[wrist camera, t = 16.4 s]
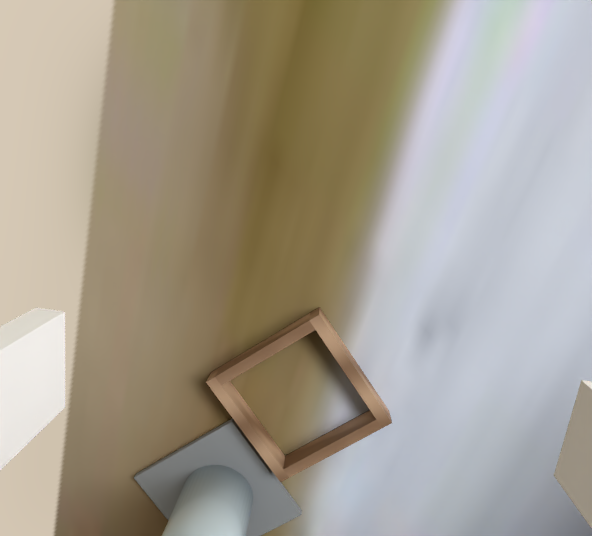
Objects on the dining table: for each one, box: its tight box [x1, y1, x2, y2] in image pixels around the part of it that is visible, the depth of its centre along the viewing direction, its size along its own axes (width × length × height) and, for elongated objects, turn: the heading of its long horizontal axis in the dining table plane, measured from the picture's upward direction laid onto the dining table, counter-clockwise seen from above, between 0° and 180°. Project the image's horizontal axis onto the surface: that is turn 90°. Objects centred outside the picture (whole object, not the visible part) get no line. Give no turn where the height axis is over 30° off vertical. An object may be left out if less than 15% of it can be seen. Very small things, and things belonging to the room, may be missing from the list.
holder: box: [206, 307, 392, 482], centre depth 43 cm, size 12×12×2 cm
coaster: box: [134, 418, 302, 536], centre depth 46 cm, size 12×12×1 cm
